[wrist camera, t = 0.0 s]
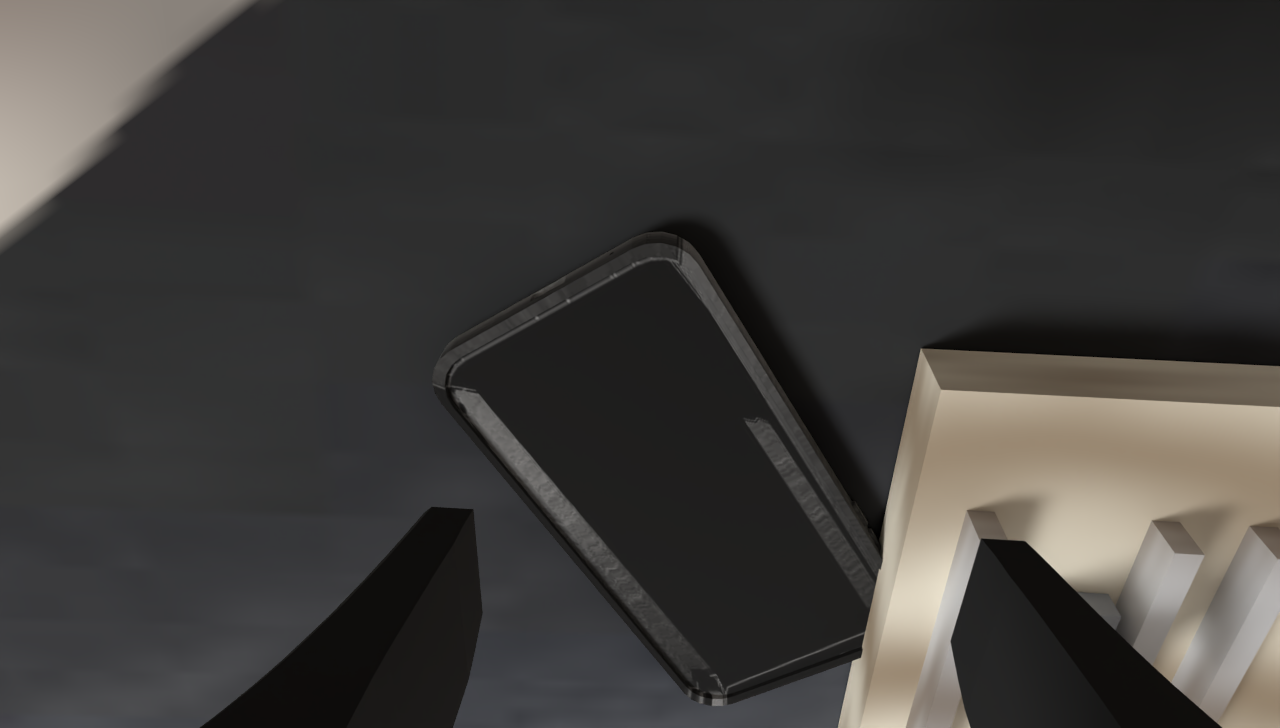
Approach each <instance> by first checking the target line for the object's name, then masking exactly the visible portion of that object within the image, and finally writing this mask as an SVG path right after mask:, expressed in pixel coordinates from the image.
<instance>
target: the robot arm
mask: <svg viewBox="0 0 1280 728" xmlns="http://www.w3.org/2000/svg"><path fill="white" fill-rule="evenodd" d="M481 618H482V602H481V591H480V579H479V568H478V557H477V546H476V535H475V524H474V513H473V509H459V508H441V507H431V508H430V509H428V510H427V511H426V512H425V513H424V514H423V515H422V516H421V517H420V518H419V519H418V521H417V522H416V523H415V524H414V525H413V526H412V527H411V529H410V530H409V531H408V532H407V533H406V534H405V535H404V537H403V538H402V539H401V540H400V541H399V542H398V543H397V545H396V546H395V547H394V548H393V549H392V550H391V551H390V552H389V554H388V555H387V556H386V557H385V558H384V559H383V560H382V561H381V562H380V563H379V564H378V566H377V567H376V568H375V569H374V570H373V571H372V572H371V573H370V574H369V575H368V576H367V577H366V578H365V580H364V581H363V582H362V583H361V584H360V585H359V586H358V587H357V588H356V589H355V590H354V591H353V592H352V593H351V594H350V595H349V596H348V597H347V598H346V599H345V600H344V601H343V602H342V603H341V604H340V605H339V607H338V608H337V609H336V610H335V611H334V612H333V613H332V614H331V615H330V616H329V617H328V618H327V619H326V620H324V621H323V622H322V623H321V624H320V625H319V626H318V627H317V628H316V629H315V630H314V631H313V632H312V633H311V634H310V635H309V636H307V637H306V638H305V639H304V640H303V641H302V642H301V643H300V644H299V645H298V646H297V647H296V648H295V649H294V650H293V651H292V652H291V653H289V654H288V655H287V656H286V657H285V658H284V659H283V660H282V661H281V662H280V663H278V664H277V665H276V666H275V667H274V668H273V669H272V670H270V671H269V672H268V673H267V674H266V675H265V676H264V677H262V678H261V679H260V680H259V681H258V682H257V683H255V684H254V685H253V686H252V687H251V688H249V689H248V690H247V691H246V692H245V693H243V694H242V695H241V696H240V697H238V698H237V699H236V700H235V701H233V702H232V703H231V704H230V705H229V706H227V707H226V708H225V709H224V710H222V711H221V712H220V713H219V714H217V715H216V716H215V717H213V718H212V719H211V720H209V721H208V722H207V723H205V724H204V725H203V726H201V727H200V728H453V725H454V722H455V719H456V716H457V713H458V710H459V707H460V704H461V701H462V698H463V695H464V692H465V689H466V686H467V683H468V680H469V675H470V671H471V666H472V661H473V657H474V652H475V647H476V642H477V637H478V633H479V628H480V623H481ZM950 642H951V647H952V652H953V657H954V662H955V667H956V672H957V677H958V682H959V687H960V691H961V695H962V700H963V704H964V709H965V712H966V715H967V718H968V721H969V724H970V727H971V728H1222V727H1221V726H1220V725H1219V724H1218V723H1216V722H1215V721H1214V720H1213V719H1212V718H1211V717H1210V716H1208V715H1207V714H1206V713H1205V712H1204V711H1203V710H1202V709H1200V708H1199V707H1198V706H1197V705H1196V704H1195V703H1194V702H1192V701H1191V700H1190V699H1189V698H1188V697H1187V696H1186V695H1184V694H1183V693H1182V692H1181V691H1180V690H1179V689H1177V688H1176V687H1175V686H1174V685H1173V684H1172V683H1171V682H1170V681H1169V680H1168V679H1166V678H1165V677H1164V676H1163V675H1162V674H1161V673H1160V672H1159V671H1158V670H1157V669H1156V668H1154V667H1153V666H1152V665H1151V664H1150V663H1149V662H1148V661H1147V660H1146V659H1145V658H1144V657H1143V656H1142V655H1141V654H1139V653H1138V652H1137V651H1136V650H1135V649H1134V648H1133V647H1132V646H1131V645H1130V644H1129V643H1128V642H1127V641H1126V640H1125V639H1124V638H1123V637H1122V636H1121V635H1120V634H1119V633H1118V632H1117V631H1116V630H1115V629H1113V628H1112V627H1111V626H1110V625H1109V624H1108V623H1107V622H1106V621H1105V620H1104V619H1103V618H1102V617H1101V616H1100V615H1099V614H1098V613H1097V612H1096V611H1095V610H1094V609H1093V608H1092V607H1091V606H1090V605H1089V604H1088V603H1087V602H1086V601H1085V600H1084V599H1083V598H1082V597H1081V596H1080V595H1079V594H1078V593H1077V592H1076V591H1075V590H1074V589H1073V588H1072V587H1071V586H1070V585H1069V584H1068V583H1067V582H1066V581H1065V580H1064V579H1063V578H1062V577H1061V576H1060V575H1059V574H1058V573H1057V572H1056V571H1055V570H1054V569H1053V568H1052V567H1051V566H1050V565H1049V564H1048V563H1047V562H1046V561H1045V560H1044V559H1043V558H1042V557H1041V556H1040V555H1039V554H1038V553H1037V552H1036V551H1035V550H1034V549H1033V548H1032V547H1031V546H1030V545H1029V544H1028V543H1027V542H1026V541H1017V540H1000V539H982V538H981V540H980V544H979V547H978V550H977V554H976V557H975V560H974V564H973V567H972V570H971V574H970V577H969V580H968V584H967V587H966V591H965V594H964V597H963V601H962V604H961V607H960V611H959V614H958V617H957V621H956V624H955V627H954V631H953V634H952V637H951V641H950Z"/></svg>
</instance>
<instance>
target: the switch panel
mask: <svg viewBox="0 0 1280 728" xmlns="http://www.w3.org/2000/svg"><path fill="white" fill-rule="evenodd" d="M981 538H982V539H1000V540H1017V541H1026V542H1027V543H1028V544H1029V545H1030V546H1031V547H1032V548H1033V549H1034V550H1035V551H1036V552H1037V553H1038V554H1039V555H1040V556H1041V557H1042V558H1043V559H1044V560H1045V561H1046V562H1047V563H1048V564H1049V565H1050V566H1051V567H1052V568H1053V569H1054V570H1055V571H1056V572H1057V573H1058V574H1059V575H1060V576H1061V577H1062V578H1063V579H1064V580H1065V581H1066V582H1067V583H1068V584H1069V585H1070V586H1071V587H1072V588H1073V589H1074V590H1075V591H1076V592H1085V593H1102V594H1109V596H1110V598H1111V599H1112V601H1113V603H1114V605H1115V606H1116V608H1117V610H1118V612H1119V613H1120V615H1121V619H1120V621H1119V623H1118V626H1117V628H1116V631H1117V632H1118V633H1119V634H1120V635H1121V636H1122V637H1123V638H1124V639H1125V640H1126V641H1127V642H1128V643H1129V644H1130V645H1131V646H1132V647H1133V648H1134V649H1135V650H1136V651H1137V652H1138V653H1139V654H1141V655H1142V656H1143V657H1144V658H1145V659H1146V660H1147V661H1148V662H1149V663H1150V664H1151V665H1152V666H1153V667H1154V668H1156V669H1157V670H1158V671H1159V672H1160V673H1161V674H1162V675H1163V676H1164V677H1165V678H1166V679H1168V680H1169V681H1170V682H1171V683H1172V684H1173V685H1174V686H1175V687H1176V688H1177V689H1179V690H1180V691H1181V692H1182V693H1183V694H1184V695H1186V696H1187V697H1188V698H1189V699H1190V700H1191V701H1192V702H1194V703H1195V704H1196V705H1197V706H1198V707H1199V708H1200V709H1202V710H1203V711H1204V712H1205V713H1206V714H1207V715H1208V716H1210V717H1211V718H1212V719H1213V720H1214V721H1215V722H1216V723H1218V724H1219V725H1220V726H1221V727H1222V728H1280V366H1264V365H1243V364H1223V363H1203V362H1183V361H1163V360H1142V359H1122V358H1102V357H1082V356H1062V355H1041V354H1021V353H1001V352H981V351H961V350H940V349H921V351H920V356H919V360H918V365H917V369H916V374H915V378H914V383H913V388H912V392H911V397H910V401H909V406H908V410H907V415H906V419H905V424H904V429H903V433H902V438H901V442H900V447H899V451H898V456H897V460H896V465H895V470H894V474H893V479H892V483H891V488H890V492H889V497H888V501H887V506H886V511H885V515H884V520H883V524H882V529H881V533H880V538H879V542H880V545H881V550H880V553H881V557H882V560H883V562H882V567H881V570H880V569H879V573H878V577H877V582H876V586H875V591H874V595H873V600H872V604H871V608H870V613H869V617H868V622H867V626H866V631H865V635H864V640H863V644H862V648H863V651H862V656H861V658H859V659H856V660H854V661H852V666H851V670H850V675H849V679H848V684H847V688H846V693H845V697H844V702H843V707H842V711H841V716H840V720H839V725H838V728H971V727H970V724H969V721H968V718H967V715H966V712H965V709H964V704H963V700H962V695H961V691H960V687H959V682H958V677H957V672H956V667H955V662H954V657H953V652H952V647H951V642H950V641H951V637H952V634H953V631H954V627H955V624H956V621H957V617H958V614H959V611H960V607H961V604H962V601H963V597H964V594H965V591H966V587H967V584H968V580H969V577H970V574H971V570H972V567H973V564H974V560H975V557H976V554H977V550H978V547H979V544H980V540H981Z"/></svg>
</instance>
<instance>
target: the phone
mask: <svg viewBox="0 0 1280 728" xmlns="http://www.w3.org/2000/svg"><path fill="white" fill-rule="evenodd" d="M612 252H613V254H611V255H610V253H612ZM432 382H433V387H434V391H435V394H436V396H437V397H438V399H439V400H440V402H441V404H442V405H443V406H444V407H445V409H446V410H447V411H448V412H449V413H450V415H451V416H452V417H453V418H454V419H455V421H456V422H457V423H458V424H459V425H460V426H461V428H462V429H463V430H464V431H465V432H466V434H467V435H468V436H469V437H470V438H471V440H472V441H473V442H474V443H475V444H476V446H477V447H478V448H479V449H480V450H481V452H482V453H483V454H484V455H485V456H486V457H487V459H488V460H489V461H490V462H491V463H492V465H493V466H494V467H495V468H496V469H497V471H498V472H499V473H500V474H501V475H502V477H503V478H504V479H505V480H506V481H507V482H508V484H509V485H510V486H511V487H512V488H513V490H514V491H515V492H516V493H517V494H518V496H519V497H520V498H521V499H522V500H523V502H524V503H525V504H526V505H527V506H528V507H529V509H530V510H531V511H532V512H533V513H534V515H535V516H536V517H537V518H538V519H539V521H540V522H541V523H542V524H543V525H544V527H545V528H546V529H547V530H548V531H549V533H550V534H551V535H552V536H553V537H554V538H555V540H556V541H557V542H558V543H559V544H560V546H561V547H562V548H563V549H564V550H565V552H566V553H567V554H568V555H569V556H570V558H571V559H572V560H573V561H574V562H575V563H576V565H577V566H578V567H579V568H580V569H581V571H582V572H583V573H584V574H585V575H586V577H587V578H588V579H589V580H590V581H591V583H592V584H593V585H594V586H595V587H596V588H597V590H598V591H599V592H600V593H601V594H602V596H603V597H604V598H605V599H606V600H607V602H608V603H609V604H610V605H611V606H612V608H613V609H614V610H615V611H616V612H617V614H618V615H619V616H620V617H621V618H622V619H623V621H624V622H625V623H626V624H627V625H628V627H629V628H630V629H631V630H632V631H633V633H634V634H635V635H636V636H637V637H638V639H639V640H640V641H641V642H642V643H643V644H644V646H645V647H646V648H647V649H648V650H649V652H650V653H651V654H652V655H653V656H654V658H655V659H656V660H657V661H658V662H659V664H660V665H661V666H662V667H663V668H664V670H665V671H666V672H667V673H668V674H669V675H670V677H671V678H672V679H673V680H674V681H675V683H676V684H677V685H678V686H679V687H680V689H681V690H682V691H683V692H684V693H685V694H686V695H687V696H688V697H689V698H691V699H692V700H694V701H696V702H698V703H701V704H705V705H710V706H724V705H729V704H733V703H736V702H739V701H742V700H745V699H747V698H750V697H753V696H756V695H758V694H761V693H764V692H767V691H770V690H772V689H775V688H778V687H781V686H784V685H786V684H789V683H792V682H795V681H798V680H800V679H803V678H806V677H809V676H812V675H814V674H817V673H820V672H823V671H826V670H828V669H831V668H834V667H837V666H840V665H842V664H845V663H848V662H851V661H854V660H856V659H859V658H861V656H862V651H863V648H862V644H863V640H864V635H865V631H866V626H867V622H868V617H869V613H870V608H871V604H872V600H873V595H874V591H875V586H876V582H877V577H878V573H879V569H880V570H881V567H882V562H883V560H882V557H881V553H880V550H881V545H880V542H879V540H878V539H877V537H876V535H875V534H874V532H873V531H872V529H871V528H868V527H867V525H868V522H867V520H866V518H865V516H864V515H863V513H862V511H861V510H860V508H859V506H858V505H857V503H856V502H855V501H851V499H850V498H849V496H848V494H847V493H846V491H845V490H844V488H843V486H842V485H841V483H840V481H839V480H838V478H837V477H836V475H835V473H834V472H833V470H832V468H831V467H830V465H829V464H828V462H827V460H826V459H825V457H824V455H823V454H822V452H821V451H820V449H819V447H818V446H817V444H816V442H815V441H814V439H813V438H812V436H811V434H810V433H809V431H808V430H807V428H806V426H805V425H804V423H803V421H802V420H801V418H800V417H799V415H798V413H797V412H796V410H795V408H794V407H793V405H792V404H791V402H790V400H789V399H788V397H787V395H786V394H785V392H784V391H783V389H782V387H781V386H780V384H779V382H778V381H777V379H776V378H775V376H774V374H773V373H772V371H771V370H770V368H769V366H768V365H767V363H766V361H765V360H764V358H763V357H762V355H761V353H760V352H759V350H758V348H757V347H756V345H755V344H754V342H753V340H752V339H751V337H750V335H749V334H748V332H747V331H746V329H745V327H744V326H743V324H742V322H741V321H740V319H739V318H738V316H737V314H736V313H735V311H734V310H733V308H732V306H731V305H730V303H729V301H728V300H727V298H726V297H725V295H724V293H723V292H722V290H721V288H720V287H719V285H718V284H717V282H716V280H715V279H714V277H713V275H712V274H711V272H710V271H709V269H708V267H707V266H706V264H705V263H704V261H703V259H702V258H701V256H700V254H699V253H698V252H697V251H696V250H695V248H694V247H693V246H692V245H691V244H690V243H689V242H687V241H686V240H684V239H682V238H681V237H679V236H677V235H674V234H670V233H666V232H647V233H644V234H641V235H639V236H636V237H633V238H632V239H630V240H628V241H626V242H624V243H623V244H621V245H619V246H617V247H616V248H614V249H612V250H610V251H608V252H607V253H605V254H603V255H601V256H600V257H598V258H596V259H594V260H592V261H591V262H589V263H587V264H585V265H584V266H582V267H580V268H578V269H576V270H575V271H573V272H571V273H569V274H568V275H566V276H564V277H562V278H560V279H559V280H557V281H555V282H553V283H552V284H550V285H548V286H546V287H544V288H543V289H541V290H539V291H537V292H536V293H534V294H532V295H530V296H528V297H527V298H525V299H523V300H521V301H520V302H518V303H516V304H514V305H512V306H511V307H509V308H507V309H505V310H504V311H502V312H500V313H498V314H496V315H495V316H493V317H491V318H489V319H488V320H486V321H484V322H482V323H480V324H479V325H477V326H475V327H473V328H472V329H470V330H468V331H466V332H464V333H463V334H461V335H459V336H457V337H456V338H455V339H453V340H452V341H451V342H450V343H449V344H447V346H446V347H445V349H444V351H443V353H442V355H441V356H440V358H439V360H438V362H437V364H436V366H435V368H434V372H433V379H432Z"/></svg>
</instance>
